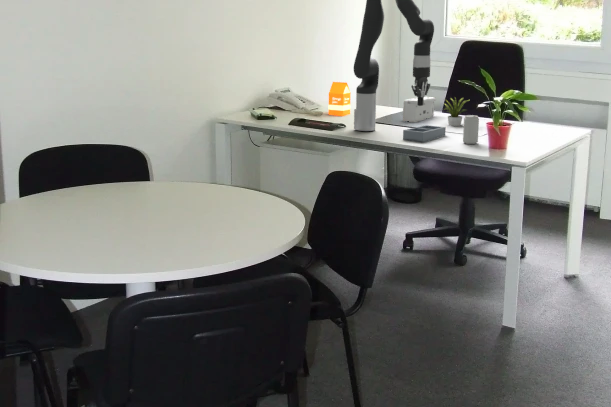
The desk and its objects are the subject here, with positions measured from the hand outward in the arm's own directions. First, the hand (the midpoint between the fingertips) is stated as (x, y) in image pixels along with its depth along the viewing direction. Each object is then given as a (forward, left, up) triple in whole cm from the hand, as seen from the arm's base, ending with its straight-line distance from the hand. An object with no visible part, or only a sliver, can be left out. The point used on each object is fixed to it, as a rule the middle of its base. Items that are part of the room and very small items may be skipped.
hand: (420, 105), depth 352 cm
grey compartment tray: (0, +5, -15) cm, 16 cm away
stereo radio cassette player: (-25, +43, -16) cm, 52 cm away
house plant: (-2, +40, -16) cm, 43 cm away
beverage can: (+22, +6, -16) cm, 28 cm away
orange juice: (-64, +28, -16) cm, 72 cm away
